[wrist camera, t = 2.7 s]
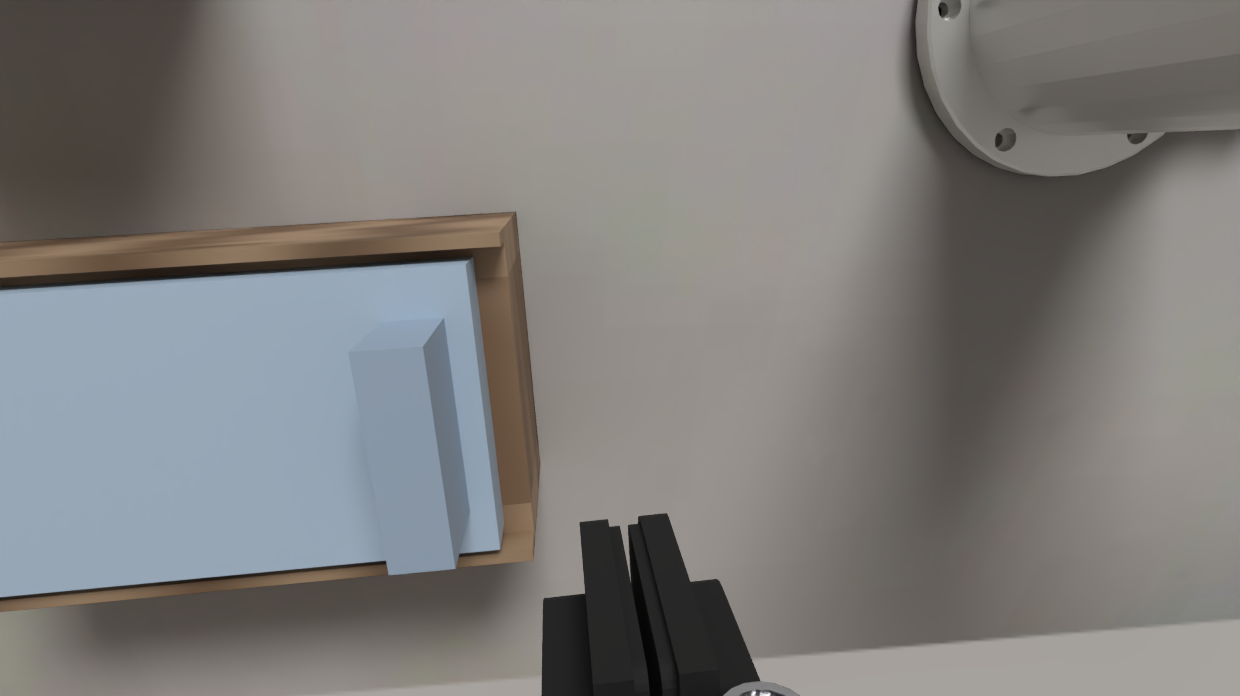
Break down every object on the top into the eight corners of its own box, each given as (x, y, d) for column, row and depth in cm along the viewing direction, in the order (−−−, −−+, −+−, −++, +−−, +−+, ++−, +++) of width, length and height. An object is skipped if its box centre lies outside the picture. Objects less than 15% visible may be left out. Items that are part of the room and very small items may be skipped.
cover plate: (472, 256, 20) (447, 284, 15) (504, 523, 23) (490, 611, 18) (-156, 296, 19) (-376, 339, 14) (-43, 573, 21) (-199, 681, 17)
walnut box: (516, 211, 25) (499, 232, 19) (539, 463, 29) (533, 560, 22) (-23, 243, 24) (-256, 278, 17) (65, 504, 27) (-101, 621, 20)
